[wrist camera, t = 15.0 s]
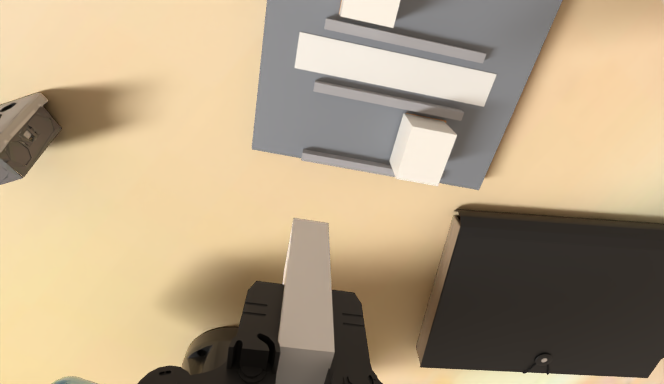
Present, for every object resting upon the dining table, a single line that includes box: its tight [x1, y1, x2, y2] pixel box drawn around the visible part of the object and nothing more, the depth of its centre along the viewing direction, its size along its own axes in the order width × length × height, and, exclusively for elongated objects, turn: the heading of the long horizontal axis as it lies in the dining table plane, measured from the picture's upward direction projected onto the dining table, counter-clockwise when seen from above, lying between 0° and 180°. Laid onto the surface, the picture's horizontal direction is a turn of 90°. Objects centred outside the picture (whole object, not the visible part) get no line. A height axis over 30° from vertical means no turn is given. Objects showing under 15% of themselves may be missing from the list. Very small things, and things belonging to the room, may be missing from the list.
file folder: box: [416, 210, 664, 378], centre depth 47 cm, size 33×4×24 cm
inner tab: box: [389, 113, 457, 186], centre depth 34 cm, size 5×4×4 cm
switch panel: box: [252, 0, 562, 190], centre depth 33 cm, size 20×24×3 cm
